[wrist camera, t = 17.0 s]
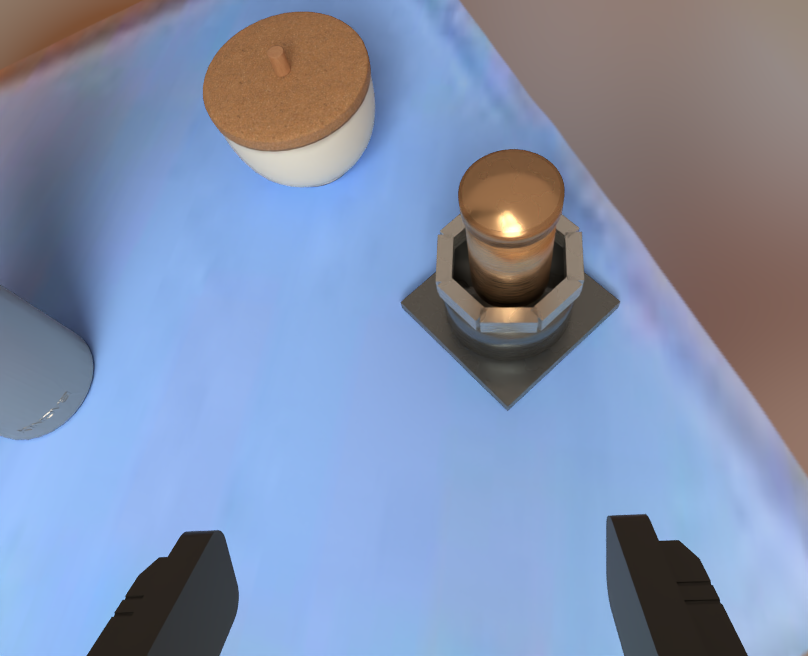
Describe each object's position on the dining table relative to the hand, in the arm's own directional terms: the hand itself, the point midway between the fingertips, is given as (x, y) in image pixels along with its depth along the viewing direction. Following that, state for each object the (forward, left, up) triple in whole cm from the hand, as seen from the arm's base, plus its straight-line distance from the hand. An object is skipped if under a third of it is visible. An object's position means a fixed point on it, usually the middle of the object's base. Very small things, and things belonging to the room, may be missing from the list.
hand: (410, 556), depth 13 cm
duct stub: (-12, +15, -29) cm, 35 cm away
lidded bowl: (-34, +14, -29) cm, 47 cm away
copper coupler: (-12, +15, -23) cm, 29 cm away
